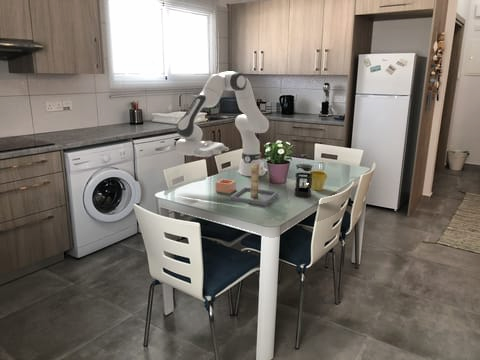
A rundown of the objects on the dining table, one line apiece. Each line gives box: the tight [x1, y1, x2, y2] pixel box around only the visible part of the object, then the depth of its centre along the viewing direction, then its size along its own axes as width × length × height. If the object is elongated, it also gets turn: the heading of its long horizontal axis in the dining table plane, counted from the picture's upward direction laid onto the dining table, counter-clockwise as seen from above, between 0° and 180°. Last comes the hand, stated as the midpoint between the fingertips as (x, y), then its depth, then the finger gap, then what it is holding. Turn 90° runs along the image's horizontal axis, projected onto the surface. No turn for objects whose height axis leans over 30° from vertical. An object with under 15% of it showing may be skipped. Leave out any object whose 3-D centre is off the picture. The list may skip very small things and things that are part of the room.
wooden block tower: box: [250, 164, 260, 199], centre depth 210 cm, size 4×4×18 cm
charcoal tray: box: [229, 186, 279, 207], centre depth 213 cm, size 20×20×2 cm
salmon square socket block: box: [215, 178, 237, 194], centre depth 223 cm, size 8×8×6 cm
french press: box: [293, 153, 314, 199], centre depth 217 cm, size 12×9×23 cm
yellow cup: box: [308, 170, 328, 191], centre depth 232 cm, size 10×10×10 cm
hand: (224, 150), depth 216 cm, fingers open, 8 cm apart
